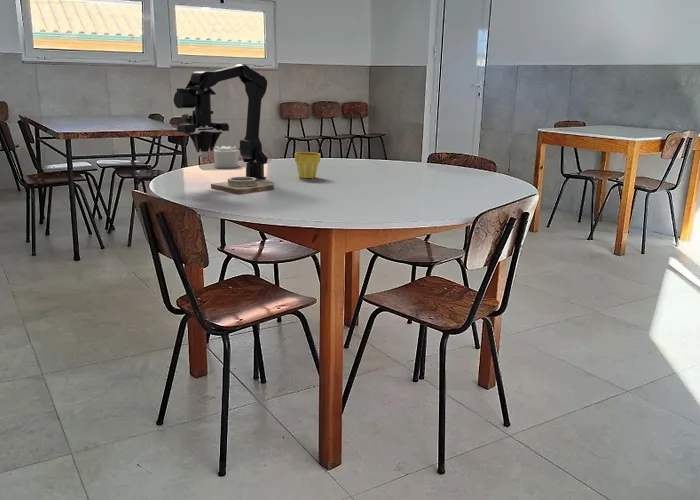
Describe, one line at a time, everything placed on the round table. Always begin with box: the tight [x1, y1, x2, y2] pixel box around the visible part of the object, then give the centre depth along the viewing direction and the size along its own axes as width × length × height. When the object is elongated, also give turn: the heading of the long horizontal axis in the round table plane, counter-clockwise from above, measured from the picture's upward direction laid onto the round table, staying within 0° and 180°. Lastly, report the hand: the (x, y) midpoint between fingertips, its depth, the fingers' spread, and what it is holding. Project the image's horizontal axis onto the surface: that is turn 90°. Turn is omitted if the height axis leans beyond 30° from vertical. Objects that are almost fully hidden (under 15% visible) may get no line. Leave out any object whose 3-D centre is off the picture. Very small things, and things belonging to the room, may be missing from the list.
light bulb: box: [198, 130, 212, 160], centre depth 228 cm, size 6×6×10 cm
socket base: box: [210, 176, 275, 195], centre depth 226 cm, size 16×16×4 cm
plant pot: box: [294, 151, 321, 179], centre depth 254 cm, size 10×10×10 cm
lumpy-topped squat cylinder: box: [213, 145, 239, 169], centre depth 282 cm, size 10×13×9 cm
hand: (204, 151), depth 228 cm, fingers closed on light bulb, 5 cm apart
